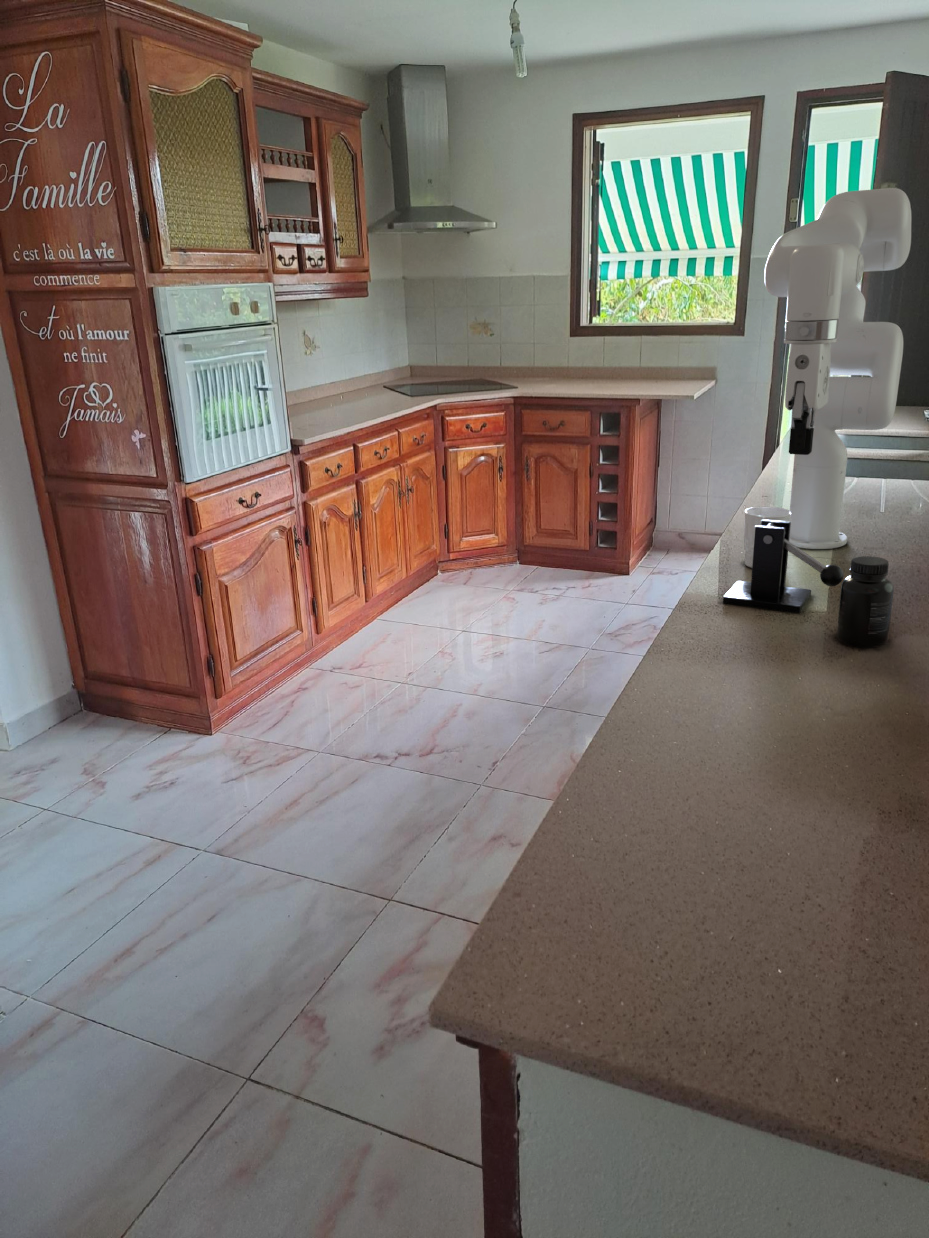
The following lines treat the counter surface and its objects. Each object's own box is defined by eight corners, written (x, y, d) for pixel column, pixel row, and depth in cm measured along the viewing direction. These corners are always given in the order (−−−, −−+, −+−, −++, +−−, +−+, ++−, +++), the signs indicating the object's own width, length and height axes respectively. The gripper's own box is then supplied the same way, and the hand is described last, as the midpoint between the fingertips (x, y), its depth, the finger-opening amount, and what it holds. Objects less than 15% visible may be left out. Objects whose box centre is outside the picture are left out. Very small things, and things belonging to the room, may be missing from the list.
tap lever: (836, 586, 140) (849, 570, 138) (832, 593, 137) (846, 576, 135) (761, 535, 143) (773, 519, 141) (756, 541, 140) (768, 524, 138)
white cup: (789, 571, 157) (793, 517, 154) (743, 570, 159) (747, 516, 155) (783, 558, 165) (787, 506, 161) (739, 558, 166) (743, 506, 163)
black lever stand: (810, 596, 145) (818, 520, 140) (799, 613, 138) (807, 534, 133) (737, 587, 151) (742, 514, 146) (722, 603, 144) (727, 527, 139)
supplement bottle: (885, 633, 129) (895, 554, 124) (889, 651, 123) (900, 569, 118) (834, 629, 131) (843, 552, 127) (836, 646, 125) (845, 566, 121)
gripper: (828, 335, 126) (815, 463, 132) (845, 329, 138) (833, 447, 144) (774, 336, 129) (764, 460, 136) (795, 330, 141) (785, 444, 148)
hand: (800, 453), depth 140 cm, fingers closed
